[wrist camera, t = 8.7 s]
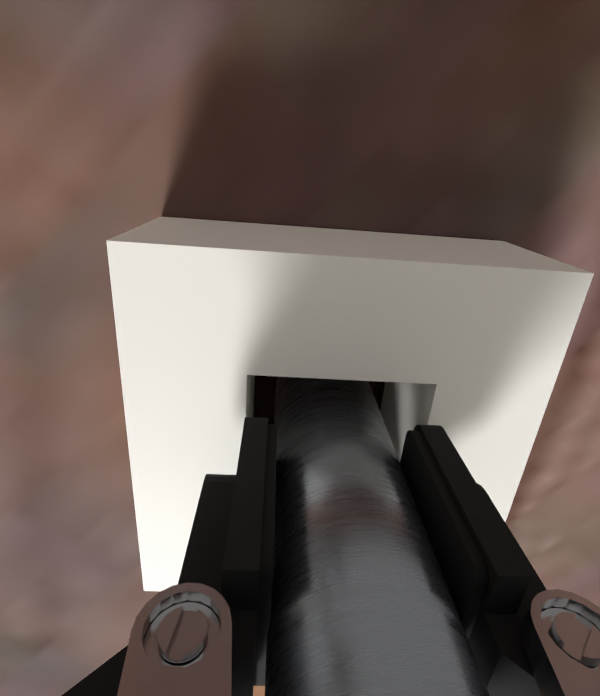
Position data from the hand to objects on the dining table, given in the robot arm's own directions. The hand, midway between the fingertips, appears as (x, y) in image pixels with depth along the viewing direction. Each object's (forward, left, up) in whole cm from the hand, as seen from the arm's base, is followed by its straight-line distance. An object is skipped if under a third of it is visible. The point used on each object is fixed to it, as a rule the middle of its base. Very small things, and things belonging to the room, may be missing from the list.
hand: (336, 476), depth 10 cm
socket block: (0, 0, -5) cm, 5 cm away
